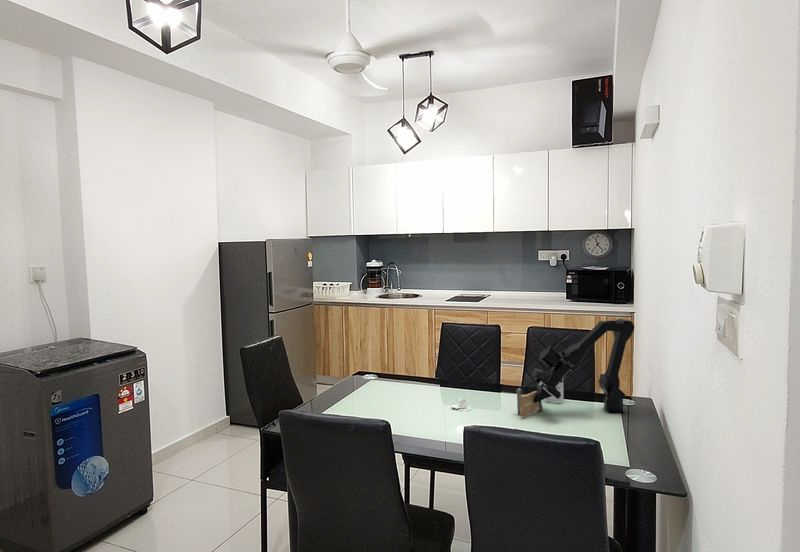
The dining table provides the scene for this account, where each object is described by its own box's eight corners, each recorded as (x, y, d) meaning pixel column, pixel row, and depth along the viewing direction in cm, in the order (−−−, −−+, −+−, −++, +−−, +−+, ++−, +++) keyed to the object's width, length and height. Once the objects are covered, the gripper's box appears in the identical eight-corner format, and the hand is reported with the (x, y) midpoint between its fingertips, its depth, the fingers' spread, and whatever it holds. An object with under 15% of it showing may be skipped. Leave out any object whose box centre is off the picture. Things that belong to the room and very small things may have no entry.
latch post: (522, 413, 213) (521, 387, 213) (523, 415, 211) (522, 388, 210) (516, 413, 213) (515, 387, 213) (517, 415, 211) (517, 389, 210)
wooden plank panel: (542, 408, 216) (542, 389, 215) (524, 417, 206) (523, 396, 206) (538, 407, 217) (538, 388, 217) (520, 416, 208) (519, 395, 207)
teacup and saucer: (449, 410, 222) (449, 401, 222) (456, 405, 229) (456, 396, 229) (468, 412, 218) (468, 403, 218) (474, 407, 225) (474, 398, 225)
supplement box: (544, 402, 227) (543, 375, 226) (547, 397, 234) (547, 371, 233) (561, 404, 224) (560, 376, 223) (564, 399, 230) (563, 372, 230)
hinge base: (541, 409, 217) (541, 405, 217) (543, 411, 215) (543, 407, 215) (535, 409, 217) (535, 405, 217) (537, 411, 215) (537, 407, 214)
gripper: (536, 357, 219) (513, 384, 219) (551, 367, 200) (526, 396, 200) (555, 372, 220) (532, 400, 220) (571, 384, 201) (546, 413, 201)
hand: (533, 402), depth 210 cm, fingers closed
